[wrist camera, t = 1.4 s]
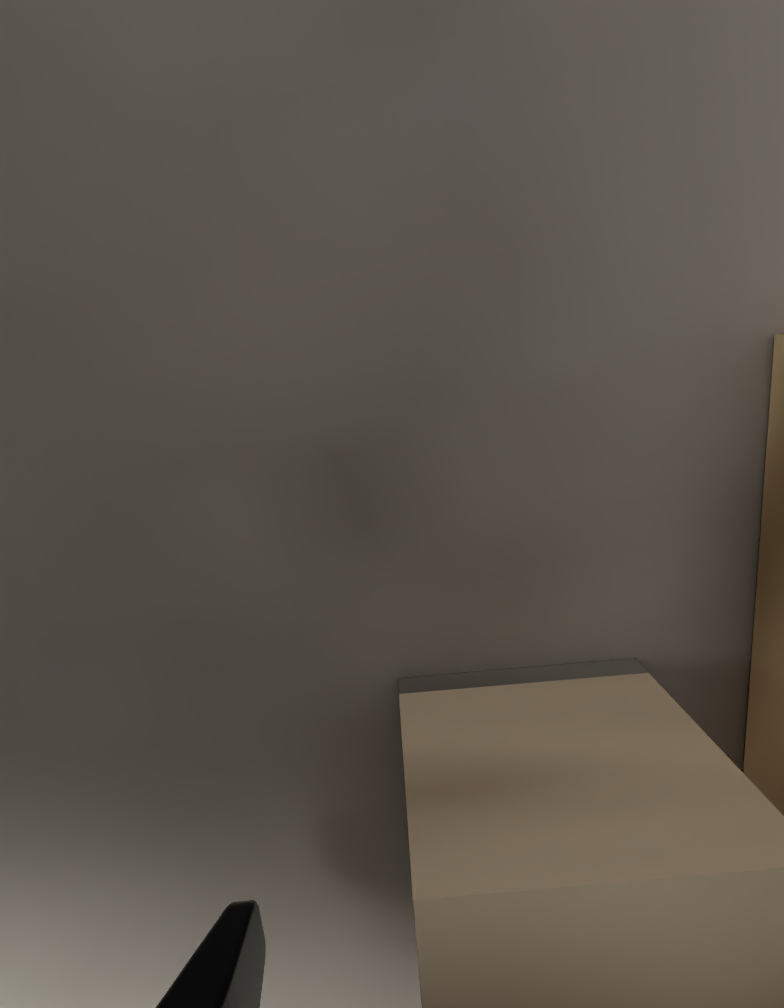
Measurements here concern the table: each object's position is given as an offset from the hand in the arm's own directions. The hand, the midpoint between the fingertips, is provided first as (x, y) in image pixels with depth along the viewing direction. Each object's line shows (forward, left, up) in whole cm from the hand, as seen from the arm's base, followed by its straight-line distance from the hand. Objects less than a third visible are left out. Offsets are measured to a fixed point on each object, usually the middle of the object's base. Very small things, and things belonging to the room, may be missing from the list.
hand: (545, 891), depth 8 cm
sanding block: (0, 0, -2) cm, 2 cm away
